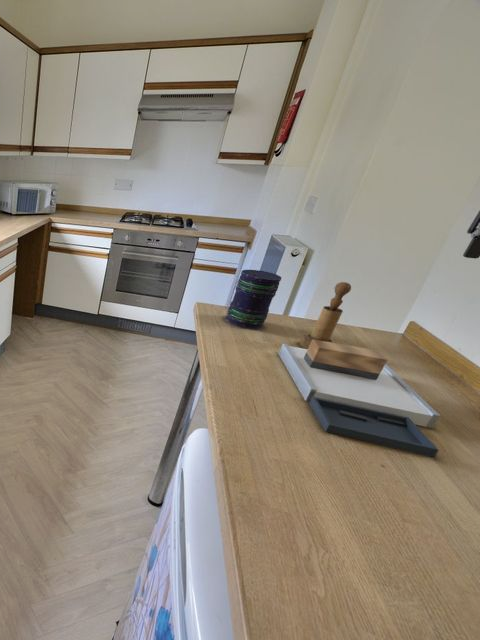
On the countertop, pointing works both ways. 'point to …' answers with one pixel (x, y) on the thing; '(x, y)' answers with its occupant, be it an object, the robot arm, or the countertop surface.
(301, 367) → the board
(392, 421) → the smudge
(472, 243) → the robot arm
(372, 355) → the eraser
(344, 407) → the tray
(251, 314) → the storage jar
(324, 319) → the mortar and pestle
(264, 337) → the countertop surface
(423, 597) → the countertop surface
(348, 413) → the smudge
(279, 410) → the countertop surface
